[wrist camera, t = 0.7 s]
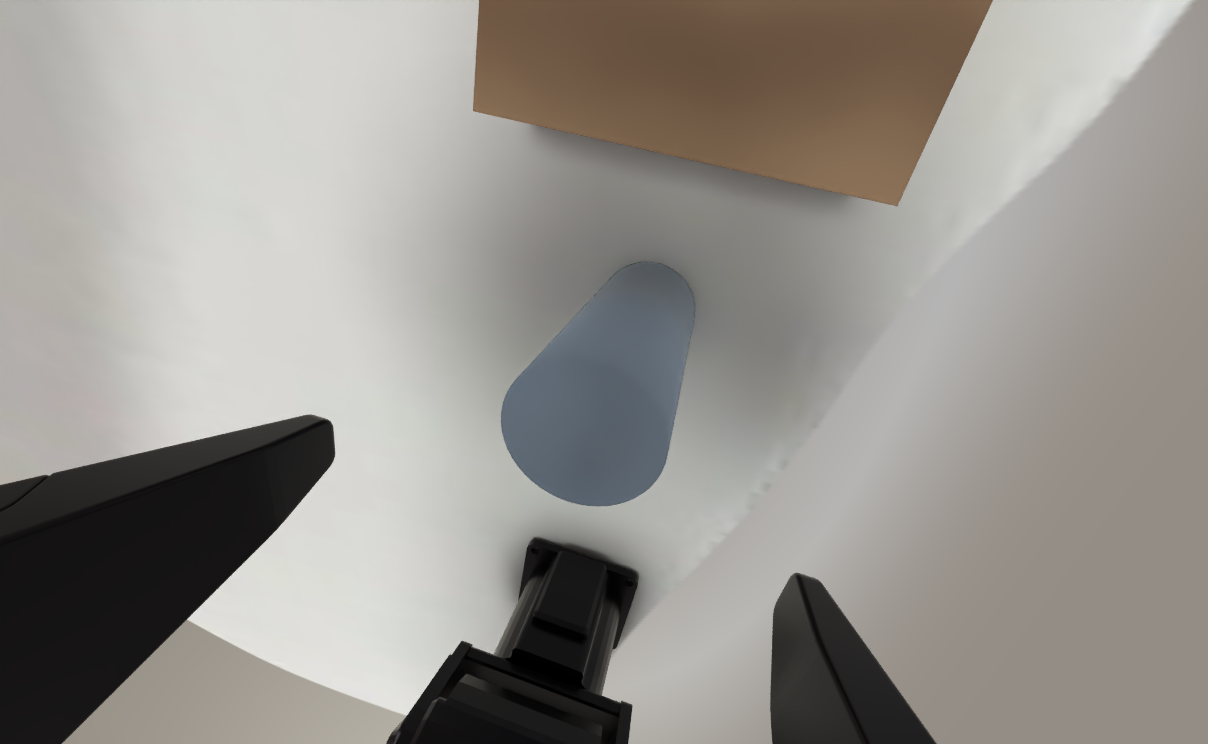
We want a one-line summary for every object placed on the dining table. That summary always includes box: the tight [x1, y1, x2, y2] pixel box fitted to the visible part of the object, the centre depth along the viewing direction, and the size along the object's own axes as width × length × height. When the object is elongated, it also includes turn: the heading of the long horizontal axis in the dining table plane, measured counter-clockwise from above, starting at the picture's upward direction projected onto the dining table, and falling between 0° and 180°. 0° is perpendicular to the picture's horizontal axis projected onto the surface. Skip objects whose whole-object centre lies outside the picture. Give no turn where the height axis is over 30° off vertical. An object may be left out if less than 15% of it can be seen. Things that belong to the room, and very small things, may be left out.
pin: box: [501, 262, 695, 506], centre depth 15 cm, size 4×4×10 cm
